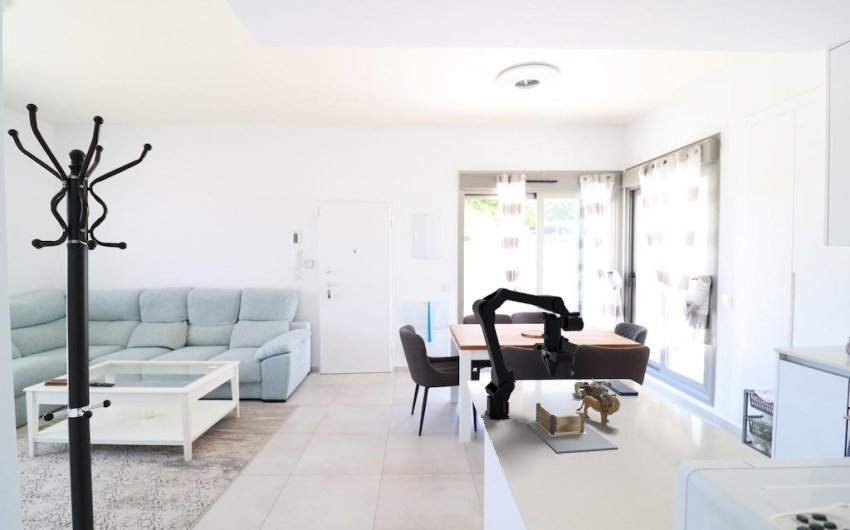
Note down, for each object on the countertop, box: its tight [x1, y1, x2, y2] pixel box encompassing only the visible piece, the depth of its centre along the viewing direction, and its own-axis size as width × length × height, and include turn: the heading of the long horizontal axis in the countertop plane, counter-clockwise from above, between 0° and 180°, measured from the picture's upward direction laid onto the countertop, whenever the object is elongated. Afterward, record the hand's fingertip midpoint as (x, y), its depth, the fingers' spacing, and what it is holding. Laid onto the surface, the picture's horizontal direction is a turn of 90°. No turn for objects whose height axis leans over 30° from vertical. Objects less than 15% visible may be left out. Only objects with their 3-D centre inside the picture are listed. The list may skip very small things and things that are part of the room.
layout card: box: [526, 421, 619, 454], centre depth 112 cm, size 18×19×1 cm
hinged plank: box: [555, 411, 585, 433], centre depth 113 cm, size 9×1×6 cm, turn 102°
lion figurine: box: [575, 395, 621, 425], centre depth 125 cm, size 15×5×9 cm, turn 37°
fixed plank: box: [535, 402, 556, 435], centre depth 116 cm, size 1×11×6 cm, turn 9°
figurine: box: [573, 378, 617, 400], centre depth 147 cm, size 20×6×17 cm
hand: (552, 377), depth 131 cm, fingers closed
